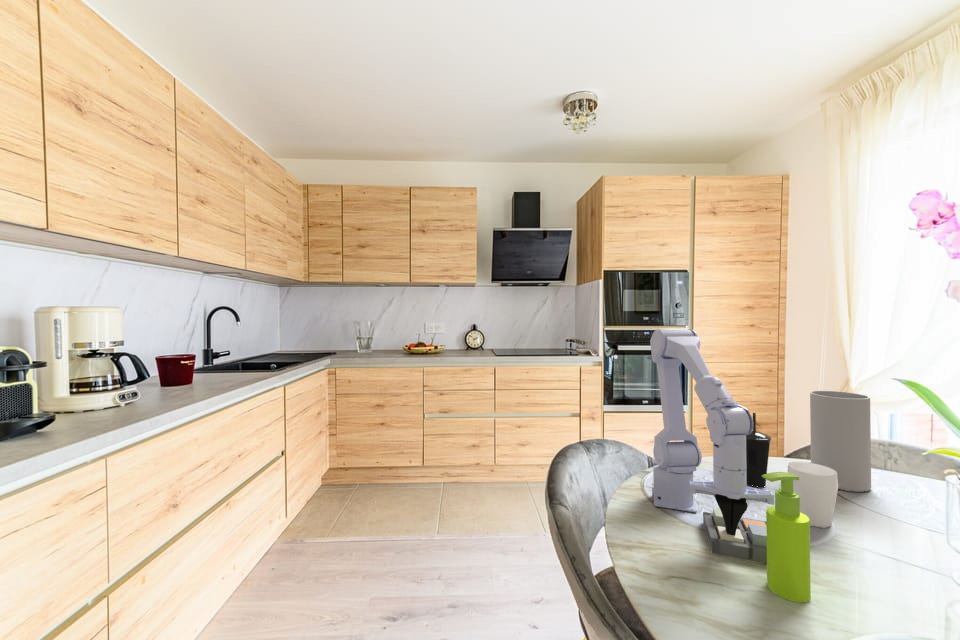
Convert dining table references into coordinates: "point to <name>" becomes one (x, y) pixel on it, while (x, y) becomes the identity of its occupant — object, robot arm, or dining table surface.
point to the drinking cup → (756, 456)
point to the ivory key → (724, 536)
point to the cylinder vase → (842, 437)
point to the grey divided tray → (733, 543)
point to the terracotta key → (752, 522)
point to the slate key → (757, 535)
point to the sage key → (718, 517)
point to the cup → (815, 491)
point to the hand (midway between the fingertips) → (730, 532)
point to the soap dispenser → (787, 542)
